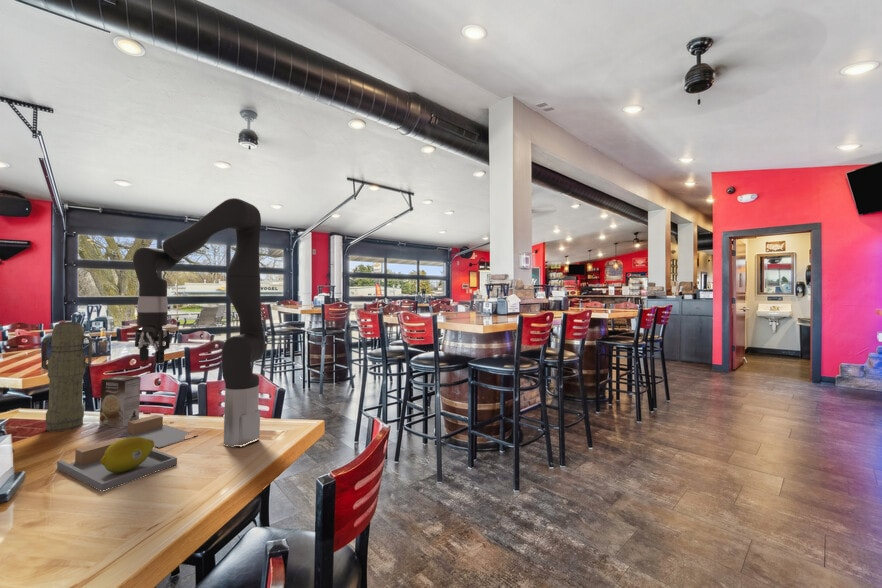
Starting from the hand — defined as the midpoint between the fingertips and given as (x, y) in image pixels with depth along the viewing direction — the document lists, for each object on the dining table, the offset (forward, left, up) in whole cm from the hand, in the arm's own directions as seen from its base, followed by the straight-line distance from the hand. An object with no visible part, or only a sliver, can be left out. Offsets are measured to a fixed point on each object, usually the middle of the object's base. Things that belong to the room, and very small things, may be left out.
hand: (151, 361), depth 114 cm
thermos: (+34, +9, -24) cm, 42 cm away
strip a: (-1, -2, -24) cm, 24 cm away
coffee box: (+22, -1, -24) cm, 32 cm away
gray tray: (-16, +14, -24) cm, 32 cm away
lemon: (-21, +14, -24) cm, 34 cm away
